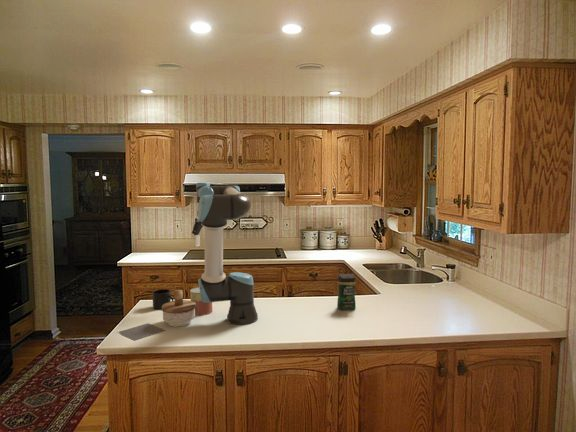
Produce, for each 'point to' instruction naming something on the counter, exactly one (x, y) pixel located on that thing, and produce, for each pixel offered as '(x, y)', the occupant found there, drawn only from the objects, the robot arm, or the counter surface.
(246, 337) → the counter surface
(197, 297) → the canned food
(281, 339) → the counter surface
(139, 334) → the mat
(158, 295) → the mug
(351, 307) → the coffee jar
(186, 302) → the lid
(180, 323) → the speckled bowl
